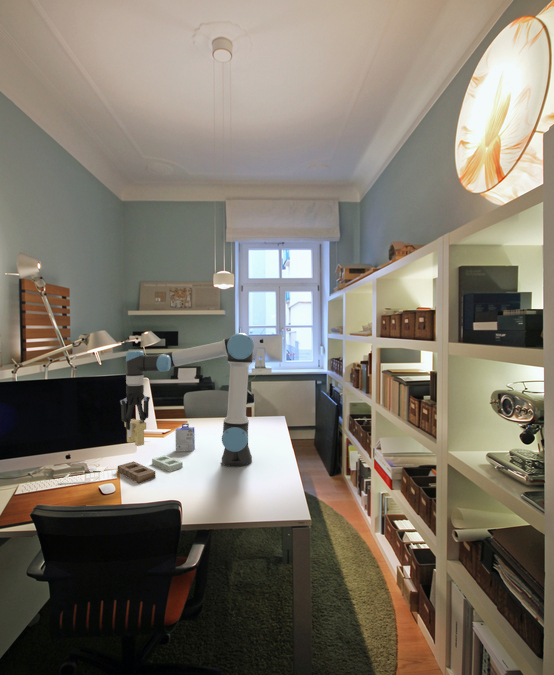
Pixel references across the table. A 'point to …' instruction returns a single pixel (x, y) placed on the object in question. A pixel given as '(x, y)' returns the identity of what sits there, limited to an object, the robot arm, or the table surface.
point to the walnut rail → (136, 472)
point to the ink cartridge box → (185, 438)
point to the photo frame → (84, 481)
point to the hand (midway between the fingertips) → (135, 435)
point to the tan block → (137, 432)
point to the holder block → (167, 463)
